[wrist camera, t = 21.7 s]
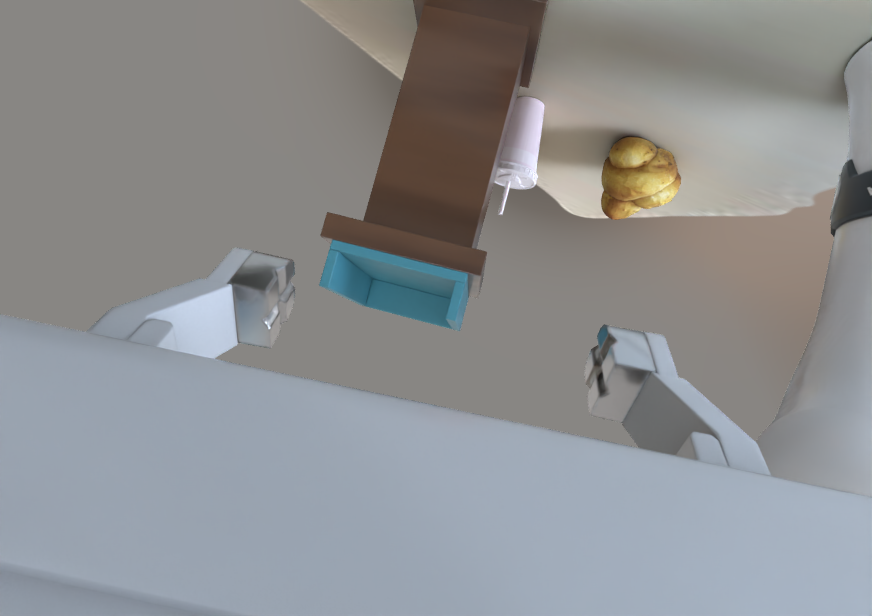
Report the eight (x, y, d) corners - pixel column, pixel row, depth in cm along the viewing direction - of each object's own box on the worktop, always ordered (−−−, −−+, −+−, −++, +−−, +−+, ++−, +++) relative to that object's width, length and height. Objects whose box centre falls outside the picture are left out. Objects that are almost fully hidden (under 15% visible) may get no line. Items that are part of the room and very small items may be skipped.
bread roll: (601, 127, 65) (586, 188, 65) (686, 131, 61) (670, 197, 61) (612, 170, 77) (599, 222, 76) (685, 176, 73) (671, 231, 72)
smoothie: (498, 107, 67) (471, 212, 66) (511, 84, 61) (480, 199, 60) (546, 122, 68) (519, 226, 67) (563, 100, 62) (533, 214, 61)
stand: (404, -61, 43) (320, 235, 42) (560, -30, 42) (480, 276, 40) (422, 52, 59) (361, 269, 57) (536, 76, 58) (478, 299, 56)
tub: (332, 239, 41) (318, 285, 41) (468, 273, 40) (455, 321, 40) (368, 270, 56) (359, 304, 56) (468, 296, 55) (459, 331, 55)
